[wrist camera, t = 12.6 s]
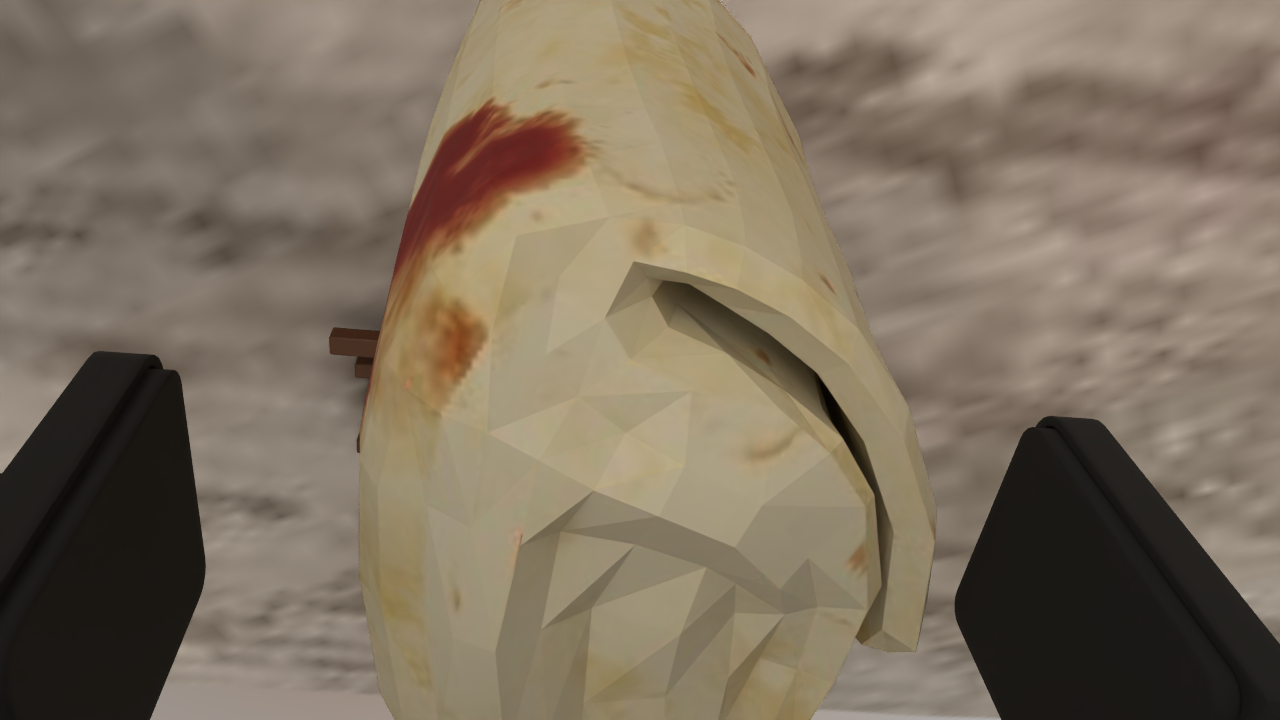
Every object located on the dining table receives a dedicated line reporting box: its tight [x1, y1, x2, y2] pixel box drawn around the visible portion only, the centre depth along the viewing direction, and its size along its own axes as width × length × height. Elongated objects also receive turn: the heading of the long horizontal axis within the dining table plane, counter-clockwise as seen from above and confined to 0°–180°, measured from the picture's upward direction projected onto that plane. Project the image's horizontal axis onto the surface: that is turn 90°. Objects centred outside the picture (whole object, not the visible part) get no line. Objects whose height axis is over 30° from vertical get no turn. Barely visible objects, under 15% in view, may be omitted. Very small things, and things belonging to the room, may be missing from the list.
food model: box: [359, 0, 937, 720], centre depth 17 cm, size 10×7×20 cm
